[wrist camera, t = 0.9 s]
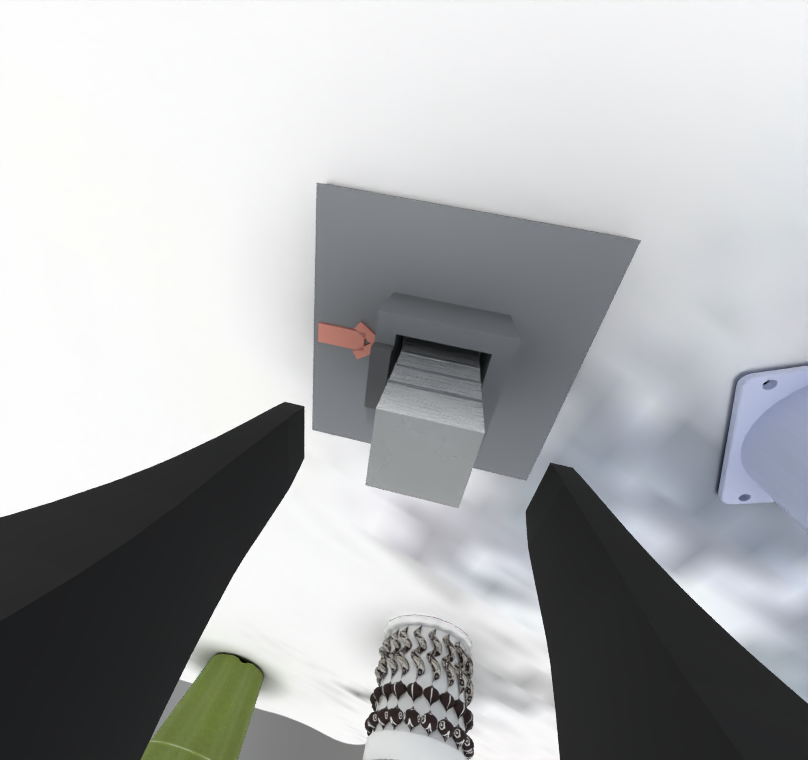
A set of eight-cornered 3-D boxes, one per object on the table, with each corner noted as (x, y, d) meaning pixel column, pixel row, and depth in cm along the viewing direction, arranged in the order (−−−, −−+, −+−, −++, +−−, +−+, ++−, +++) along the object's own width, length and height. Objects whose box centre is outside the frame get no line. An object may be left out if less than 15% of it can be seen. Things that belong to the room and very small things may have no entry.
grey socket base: (629, 238, 13) (698, 252, 9) (523, 468, 20) (538, 535, 16) (325, 184, 14) (271, 175, 10) (318, 420, 21) (283, 471, 17)
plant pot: (225, 634, 39) (143, 780, 29) (298, 682, 42) (246, 828, 32) (179, 650, 44) (96, 779, 34) (247, 692, 47) (189, 821, 37)
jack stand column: (477, 336, 15) (485, 432, 9) (462, 392, 16) (459, 508, 10) (413, 323, 15) (375, 407, 9) (403, 379, 17) (364, 485, 10)
